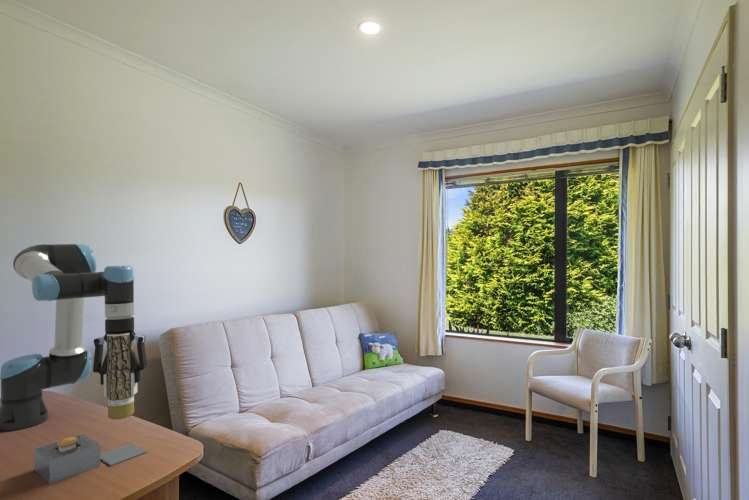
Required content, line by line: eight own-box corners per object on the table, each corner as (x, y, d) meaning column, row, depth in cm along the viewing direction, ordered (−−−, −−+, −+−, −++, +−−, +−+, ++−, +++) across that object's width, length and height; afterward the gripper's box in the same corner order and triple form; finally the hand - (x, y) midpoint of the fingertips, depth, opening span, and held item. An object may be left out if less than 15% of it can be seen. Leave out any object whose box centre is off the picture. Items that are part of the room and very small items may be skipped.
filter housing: (34, 470, 120) (34, 449, 120) (83, 454, 130) (83, 434, 130) (49, 484, 113) (49, 461, 113) (100, 465, 122) (100, 444, 122)
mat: (96, 456, 128) (96, 455, 128) (131, 444, 136) (131, 443, 136) (110, 466, 122) (110, 464, 122) (146, 452, 130) (146, 451, 130)
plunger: (55, 465, 121) (54, 441, 121) (74, 459, 124) (73, 435, 124) (61, 470, 118) (60, 445, 118) (80, 463, 122) (80, 439, 122)
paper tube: (135, 417, 128) (133, 332, 128) (108, 422, 124) (106, 335, 124) (133, 410, 133) (132, 329, 134) (107, 415, 130) (106, 332, 130)
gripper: (77, 320, 124) (78, 400, 124) (150, 317, 127) (151, 396, 127) (90, 316, 131) (91, 392, 131) (159, 314, 134) (160, 388, 134)
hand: (120, 394), depth 129 cm, fingers closed on paper tube, 7 cm apart
